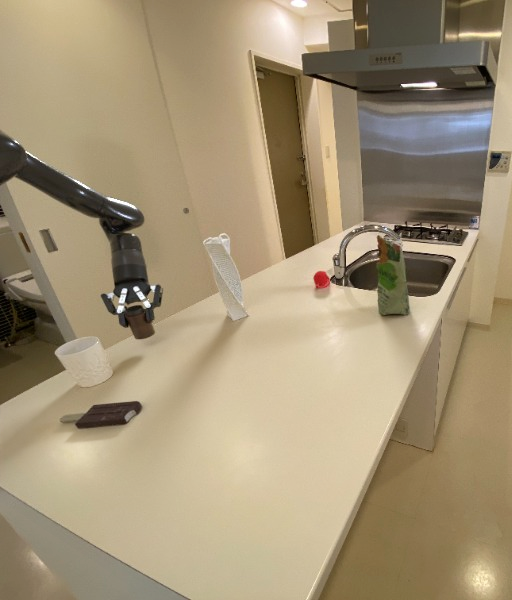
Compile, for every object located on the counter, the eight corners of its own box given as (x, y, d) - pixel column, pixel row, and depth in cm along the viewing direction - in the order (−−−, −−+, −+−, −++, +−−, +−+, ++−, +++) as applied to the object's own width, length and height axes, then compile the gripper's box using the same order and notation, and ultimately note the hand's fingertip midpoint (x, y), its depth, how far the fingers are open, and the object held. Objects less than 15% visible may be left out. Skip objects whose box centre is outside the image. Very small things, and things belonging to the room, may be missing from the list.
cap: (331, 289, 125) (329, 274, 122) (316, 291, 123) (313, 277, 120) (329, 281, 132) (327, 267, 129) (313, 283, 130) (311, 269, 127)
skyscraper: (254, 315, 108) (233, 232, 95) (231, 324, 103) (206, 238, 90) (244, 307, 113) (222, 228, 100) (222, 315, 108) (196, 233, 95)
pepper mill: (130, 340, 89) (118, 313, 86) (140, 330, 94) (129, 304, 90) (149, 338, 90) (137, 312, 86) (158, 329, 94) (147, 303, 90)
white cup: (94, 391, 77) (74, 357, 73) (66, 387, 78) (44, 354, 74) (124, 369, 84) (107, 337, 79) (98, 366, 85) (80, 335, 81)
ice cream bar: (52, 431, 67) (130, 424, 68) (48, 426, 66) (127, 418, 67) (72, 412, 71) (145, 405, 73) (68, 406, 71) (142, 400, 72)
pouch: (405, 321, 103) (404, 245, 91) (369, 317, 105) (364, 242, 94) (413, 305, 112) (413, 234, 101) (380, 301, 115) (377, 232, 103)
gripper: (90, 267, 86) (97, 327, 82) (155, 258, 92) (164, 314, 88) (104, 279, 93) (111, 334, 89) (163, 269, 99) (173, 322, 95)
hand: (138, 324), depth 88 cm, fingers closed on pepper mill, 5 cm apart
